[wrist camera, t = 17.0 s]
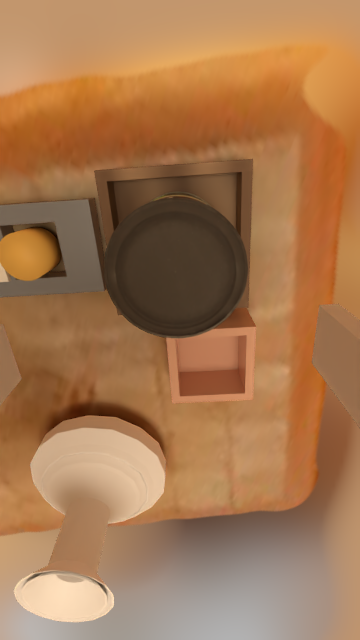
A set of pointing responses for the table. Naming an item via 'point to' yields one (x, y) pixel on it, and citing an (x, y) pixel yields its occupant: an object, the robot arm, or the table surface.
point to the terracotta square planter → (214, 362)
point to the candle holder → (88, 508)
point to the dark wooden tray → (197, 178)
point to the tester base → (75, 242)
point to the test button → (29, 253)
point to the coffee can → (176, 266)
